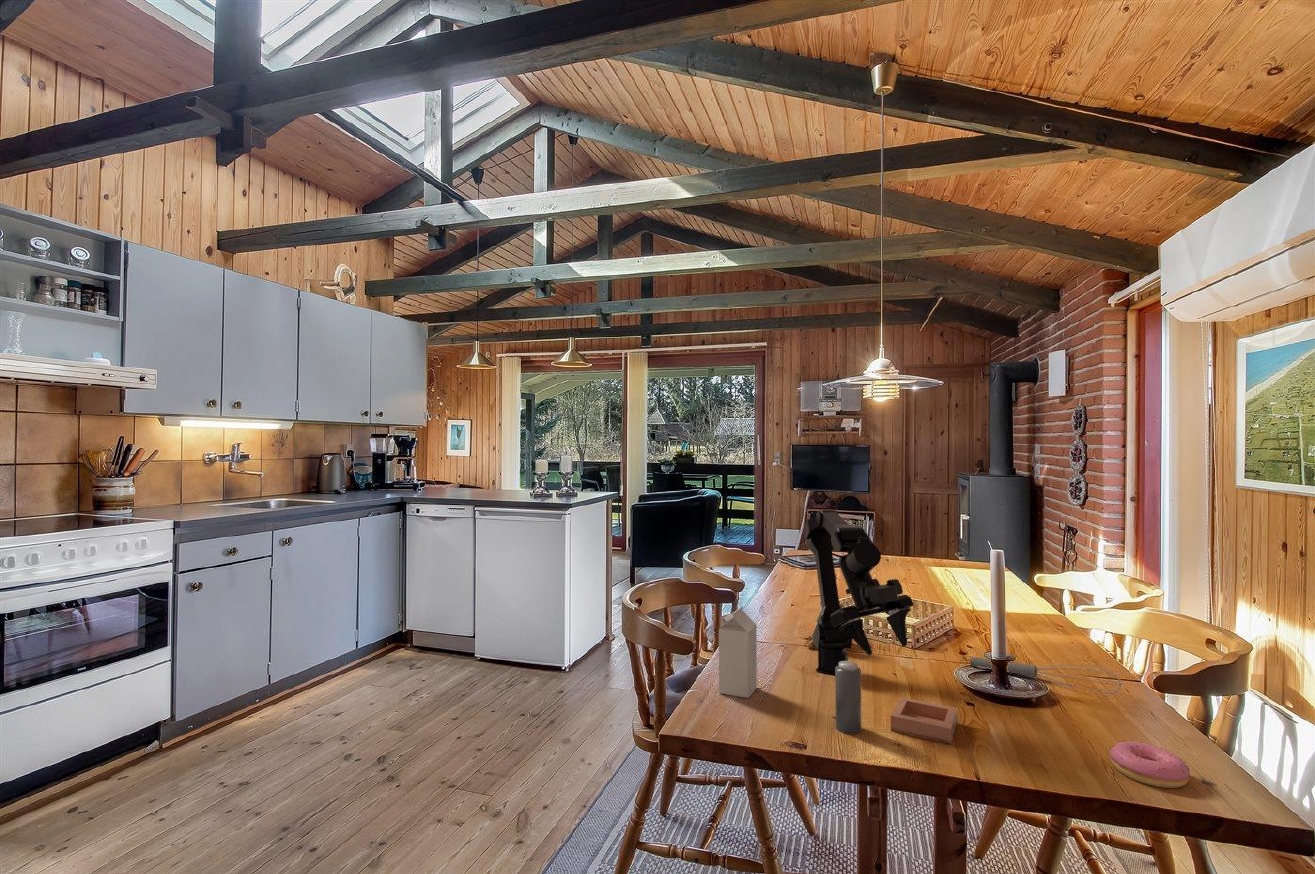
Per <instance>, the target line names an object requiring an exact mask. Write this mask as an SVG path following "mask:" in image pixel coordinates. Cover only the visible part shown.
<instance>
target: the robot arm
mask: <svg viewBox="0 0 1315 874" xmlns="http://www.w3.org/2000/svg"><path fill="white" fill-rule="evenodd" d="M803 528H804V529H803V536H804V539H805V540H806V542H807V543H806V544H807V547H808V549H809V550H810V552H812V553H813V555H814V557H815V565H816V573H817V574H816V575H817V580H818V589H819V596H820V601H821V605H820V607H821V606H822V608H821V609H822V610H821V609H820V612H819V615H818V617H817V618H816V625H815V628H814V630H813V632H812V635H813V643H814V645H815V646H816V647H817V648H818V649H817V652H818V653H817V660H818V661H817V666H818V667H816V669H815V671H816V672H818V673H823V674H828V675H833V676H835V667H836V666H837V665H839V662H840V661H849V657H848V656H849V654H848V652H846V651H847V649H848V650H849V649H850V650H851V648H852V645H853V641H854V642H855V643H856V644H857V645H858V646H859V647H860V648H861V649H862V650H863V651H864V652H865V653H866V654H867V655H868V656H870V655H873V651H872V647H871V644H870V642H869V639H868V637H867V635H866V633H865V630H864V625H863V624H864V621H863V619H864V618H865V617H868V616H873V615H878V614H881V613H885V614H886V615H888V616H886V617H885V619H886V620H887V622H888V624H889V626H890V628H891V629H892V631H893V633H894V635H895V637H896V639H897V640H898V641H899V643H900V645H901V646H902V647H906V646H907V645H908V641H907V629H906V626H907V625H906V621H907V620H906V619H907V615H908V613H909V612H911V609H912V608H913V607H914V606H915V604H914V601H913V600H912V597H911V596H909V595H908V594H903V592H904V591H903V586H902V585H901V582H900V581H899V579H898V578H897V579H896V578H893V579H888V580H887V581H886V583H885V584H880V582H879V580H878V579H877V578H873V577H872V575H871V571H872V570H873V569H875V568H876V566H878V565H879V563H880V562H881V559H882V554H881V551H880V549H879V548H878V546H876V545H875V543H874V542H873V541H872V540H871V538H870V536H869V535H868V533H867V532H866V531H865V528H863V527H862V526H859V525H854V524H850V523H848V522H847V521H846V520H845V519H844V518H843V517H841V516H840V515H839V512H838V511H837V510H835V509H820V510H817V511H816V514H814V516H812V517H810V518H809V519H807V520H806V523H805V525H804V527H803ZM834 550H835V551H836V552H837V553H847V554H844V555H840V556H839V557H838V562H837V568H838V569H840V571H841V574H842V576H843V578H844V581H845V584H846V586H847V589H845V593H846V595H850V597H851V599H852V600H853V604H854V605H851V606H846V607H842V608H841V607H840V598H839V597H840V596H839V591H838V584H837V577H836V571H835V563H834V556H833V555H834V554H833V551H834ZM863 617H864V618H863Z"/></svg>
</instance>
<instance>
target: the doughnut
mask: <svg viewBox="0 0 1315 874" xmlns="http://www.w3.org/2000/svg"><path fill="white" fill-rule="evenodd" d="M1108 756H1110V760H1111V763H1112V764H1113V767H1115V768H1116V769H1117V770H1118V772H1120V773H1122V774H1123V775H1125V776H1126V777H1128V778H1130V779H1132V780H1135V781H1136V782H1139V783H1142V784H1143V785H1148V786H1151V787H1157V788H1162V789H1176V788H1180V787H1184V786H1185V785H1186V784H1187V783H1188V782H1189V780H1190V779H1189V778H1190V776H1191V772H1190V768H1189V765H1187V764H1186V762H1185V761H1184V760H1183V759H1182V758H1180V756H1178V755H1177V754H1175V753H1173V752H1171V751H1169V750H1167V749H1164V748H1163V747H1159V746H1156V745H1152V744H1148V743H1146V742H1145V743H1144V742H1142V741H1141V742H1138V741H1132V740H1131V741H1125V740H1123V741H1121V742H1116V744H1114V745H1112V748H1110V752H1109V754H1108Z"/></svg>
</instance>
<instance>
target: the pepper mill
mask: <svg viewBox="0 0 1315 874" xmlns="http://www.w3.org/2000/svg"><path fill="white" fill-rule="evenodd" d="M834 677H835V679H834V681H835V682H834V684H835V687H834V688H835V693H834V695H835V696H834V697H835V698H834V699H835V704H834V705H835V710H834V711H835V729H836V730H837V731H838V732H840V733H842V734H846V735H858V734H860V733H862V669H861V668H860V667H858V663H857V662H854V661H851V660H848V661H840V662H839V665H837V666H836V667H835V675H834Z"/></svg>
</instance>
